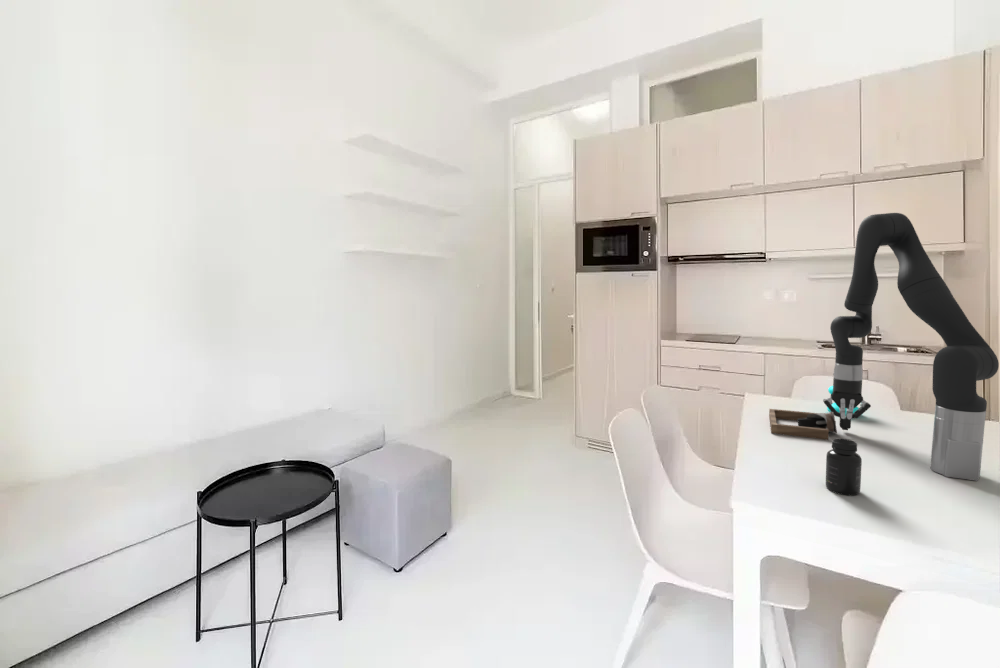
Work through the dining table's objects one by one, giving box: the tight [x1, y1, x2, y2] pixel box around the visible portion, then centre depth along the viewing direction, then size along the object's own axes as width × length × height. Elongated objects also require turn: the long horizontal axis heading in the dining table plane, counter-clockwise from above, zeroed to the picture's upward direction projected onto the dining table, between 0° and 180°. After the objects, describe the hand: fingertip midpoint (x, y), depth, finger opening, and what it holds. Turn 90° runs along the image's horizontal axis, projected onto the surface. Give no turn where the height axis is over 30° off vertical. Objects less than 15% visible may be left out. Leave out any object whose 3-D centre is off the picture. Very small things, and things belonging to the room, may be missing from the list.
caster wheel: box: [796, 411, 838, 434], centre depth 156 cm, size 7×11×10 cm
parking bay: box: [768, 408, 830, 441], centre depth 160 cm, size 21×16×3 cm
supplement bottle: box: [825, 438, 862, 496], centre depth 112 cm, size 7×7×12 cm
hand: (844, 429), depth 154 cm, fingers closed
